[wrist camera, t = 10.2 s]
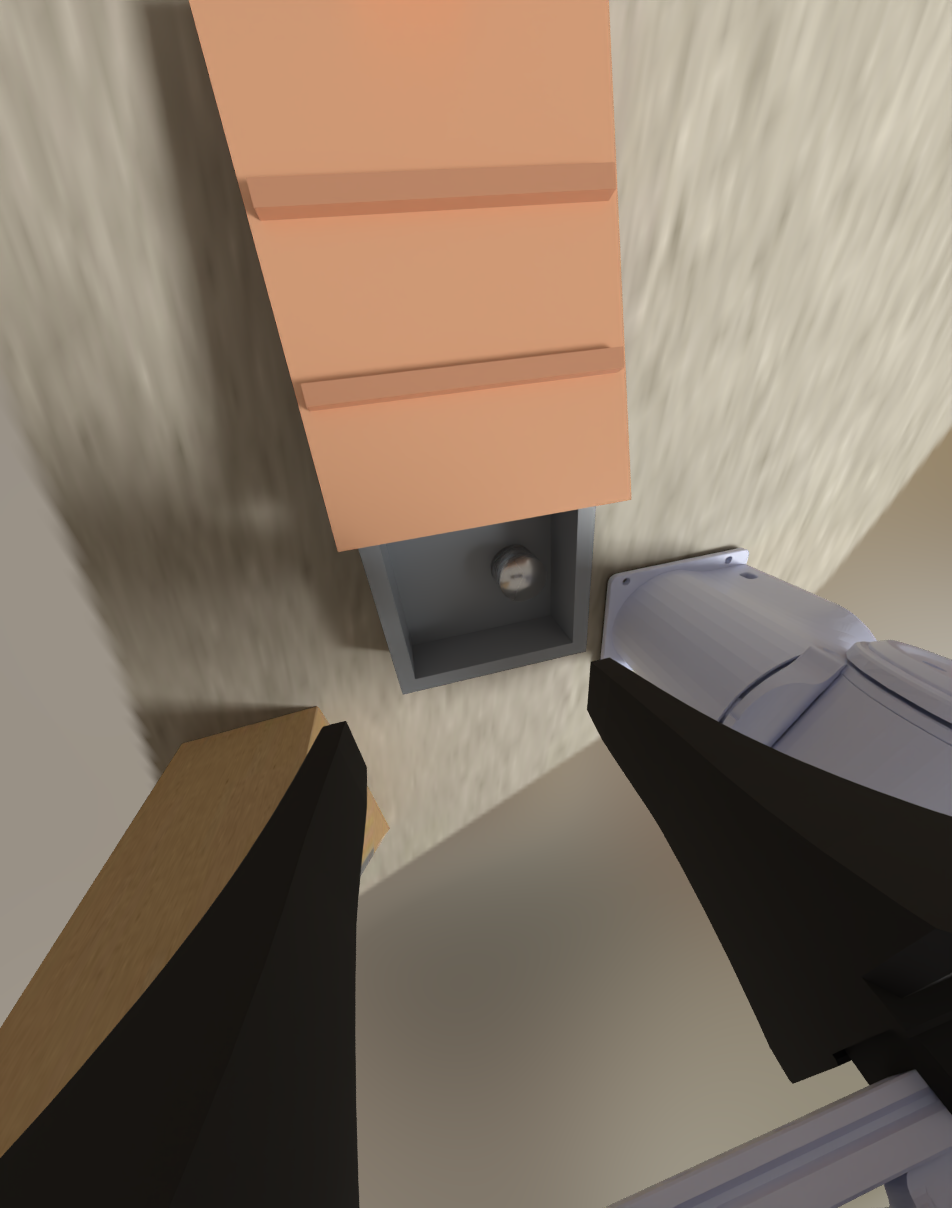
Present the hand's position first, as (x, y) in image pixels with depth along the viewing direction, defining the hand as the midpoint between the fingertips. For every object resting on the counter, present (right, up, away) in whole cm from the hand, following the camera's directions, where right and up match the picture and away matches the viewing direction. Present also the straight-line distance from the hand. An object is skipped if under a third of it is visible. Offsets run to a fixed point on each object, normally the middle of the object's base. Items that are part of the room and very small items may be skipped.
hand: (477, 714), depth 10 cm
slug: (+2, +5, +8) cm, 10 cm away
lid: (-1, +15, 0) cm, 15 cm away
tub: (0, +7, +8) cm, 10 cm away
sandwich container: (-12, -10, +15) cm, 22 cm away
